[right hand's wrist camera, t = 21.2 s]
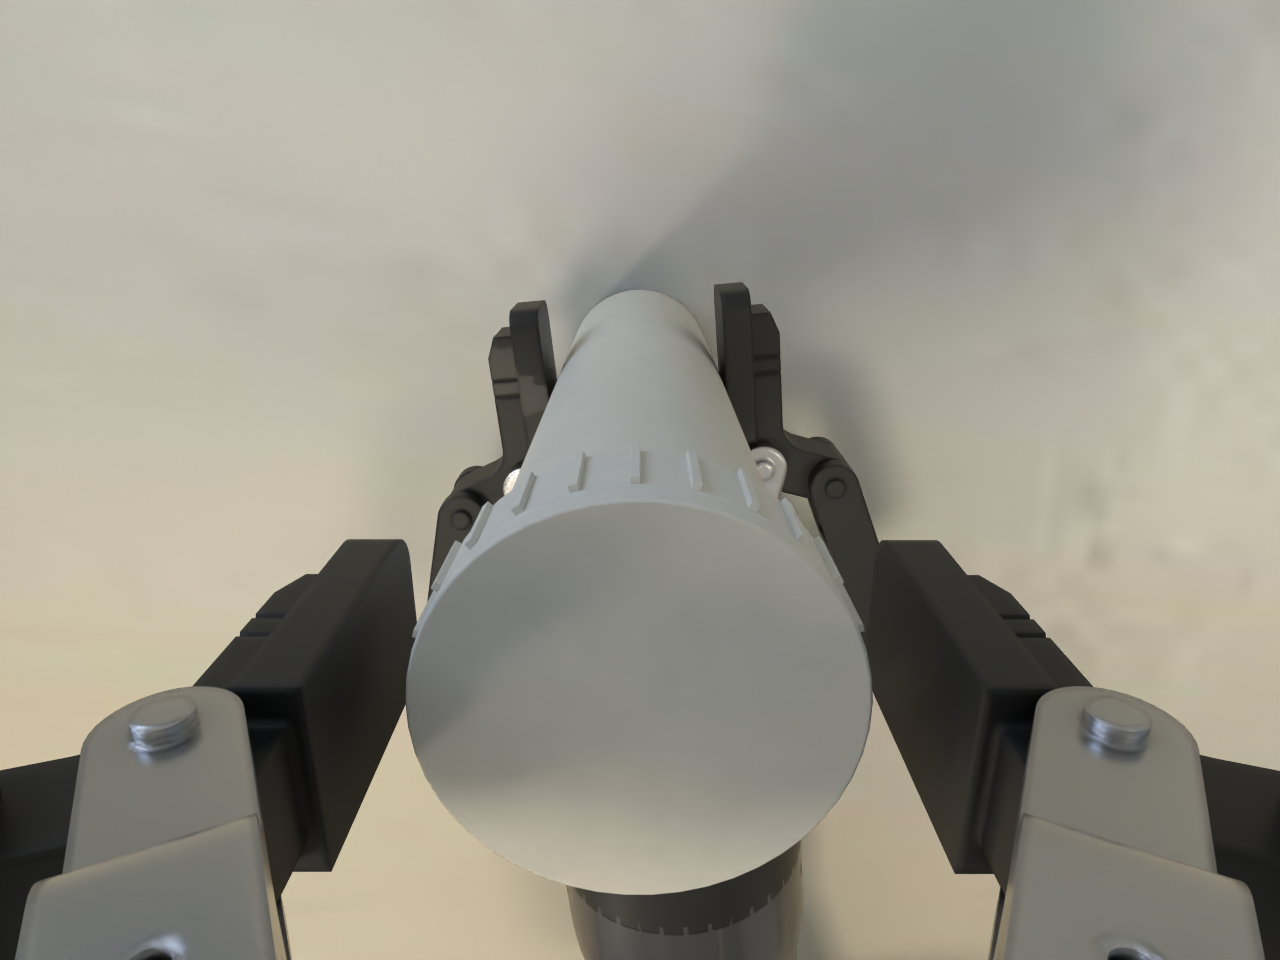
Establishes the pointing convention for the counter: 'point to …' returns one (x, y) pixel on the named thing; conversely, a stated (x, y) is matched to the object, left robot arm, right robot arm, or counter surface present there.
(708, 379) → the white cylindrical bottle
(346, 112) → the counter surface
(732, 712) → the lid
